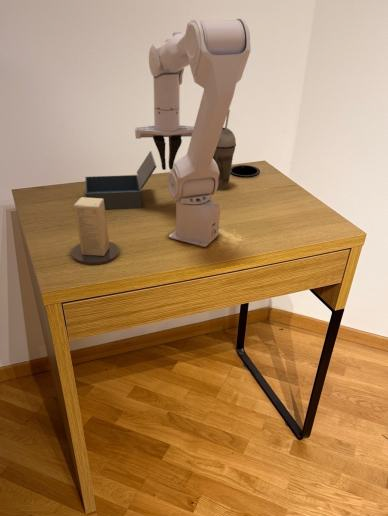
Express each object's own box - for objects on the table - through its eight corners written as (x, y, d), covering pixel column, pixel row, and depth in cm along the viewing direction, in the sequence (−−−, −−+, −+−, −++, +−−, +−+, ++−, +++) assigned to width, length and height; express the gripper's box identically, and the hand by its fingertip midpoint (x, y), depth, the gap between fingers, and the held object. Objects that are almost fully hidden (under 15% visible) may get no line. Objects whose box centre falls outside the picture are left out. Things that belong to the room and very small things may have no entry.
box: (109, 247, 107) (105, 198, 100) (104, 256, 104) (99, 206, 97) (86, 245, 108) (80, 196, 101) (80, 254, 104) (73, 204, 97)
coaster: (127, 249, 108) (127, 246, 108) (101, 269, 101) (100, 266, 101) (90, 238, 111) (90, 236, 111) (62, 257, 104) (61, 254, 104)
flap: (136, 172, 131) (137, 173, 131) (140, 188, 122) (141, 189, 122) (150, 150, 128) (151, 151, 128) (155, 165, 119) (156, 166, 120)
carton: (137, 190, 134) (137, 174, 132) (141, 207, 125) (141, 191, 123) (87, 192, 132) (85, 176, 130) (87, 210, 123) (85, 193, 121)
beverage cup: (202, 183, 140) (205, 107, 127) (225, 180, 142) (231, 105, 129) (213, 193, 134) (217, 114, 122) (237, 189, 137) (243, 112, 124)
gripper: (195, 102, 114) (194, 161, 123) (132, 103, 112) (135, 163, 121) (201, 110, 109) (199, 171, 117) (135, 111, 107) (138, 173, 115)
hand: (167, 168), depth 119 cm, fingers closed
